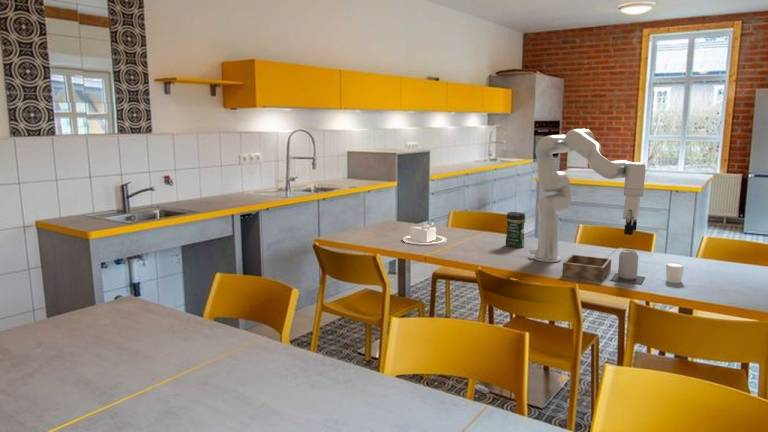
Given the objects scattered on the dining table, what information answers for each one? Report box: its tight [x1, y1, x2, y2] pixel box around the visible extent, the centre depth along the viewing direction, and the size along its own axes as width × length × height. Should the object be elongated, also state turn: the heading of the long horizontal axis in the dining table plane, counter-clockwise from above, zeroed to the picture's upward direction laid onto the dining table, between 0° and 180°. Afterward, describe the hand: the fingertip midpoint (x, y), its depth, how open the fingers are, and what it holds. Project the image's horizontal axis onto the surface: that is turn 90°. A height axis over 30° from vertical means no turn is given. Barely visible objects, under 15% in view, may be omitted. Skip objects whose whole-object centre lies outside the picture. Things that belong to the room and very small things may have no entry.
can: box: [617, 249, 639, 280], centre depth 243 cm, size 8×8×12 cm
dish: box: [401, 222, 447, 245], centre depth 321 cm, size 25×25×11 cm
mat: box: [610, 272, 646, 286], centre depth 244 cm, size 12×12×1 cm
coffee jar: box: [505, 211, 526, 248], centre depth 305 cm, size 10×8×19 cm
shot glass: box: [665, 262, 685, 284], centre depth 240 cm, size 7×7×7 cm
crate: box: [561, 254, 612, 282], centre depth 252 cm, size 17×17×6 cm
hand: (630, 232), depth 240 cm, fingers open, 9 cm apart
